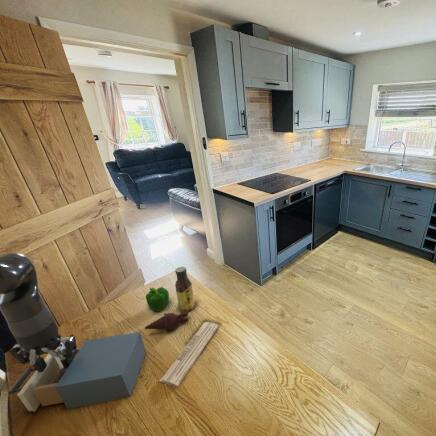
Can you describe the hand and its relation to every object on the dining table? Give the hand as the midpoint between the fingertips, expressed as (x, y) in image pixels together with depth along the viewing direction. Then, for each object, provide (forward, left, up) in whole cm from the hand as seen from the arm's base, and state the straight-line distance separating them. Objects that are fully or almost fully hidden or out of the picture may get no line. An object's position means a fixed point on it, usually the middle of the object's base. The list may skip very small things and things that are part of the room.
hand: (55, 367), depth 69 cm
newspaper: (+36, -2, -9) cm, 37 cm away
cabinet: (+12, -2, -9) cm, 15 cm away
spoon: (-1, 0, -7) cm, 7 cm away
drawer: (0, 0, -8) cm, 8 cm away
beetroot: (+28, +12, -9) cm, 32 cm away
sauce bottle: (+35, +21, -9) cm, 42 cm away
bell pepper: (+24, +26, -9) cm, 36 cm away
